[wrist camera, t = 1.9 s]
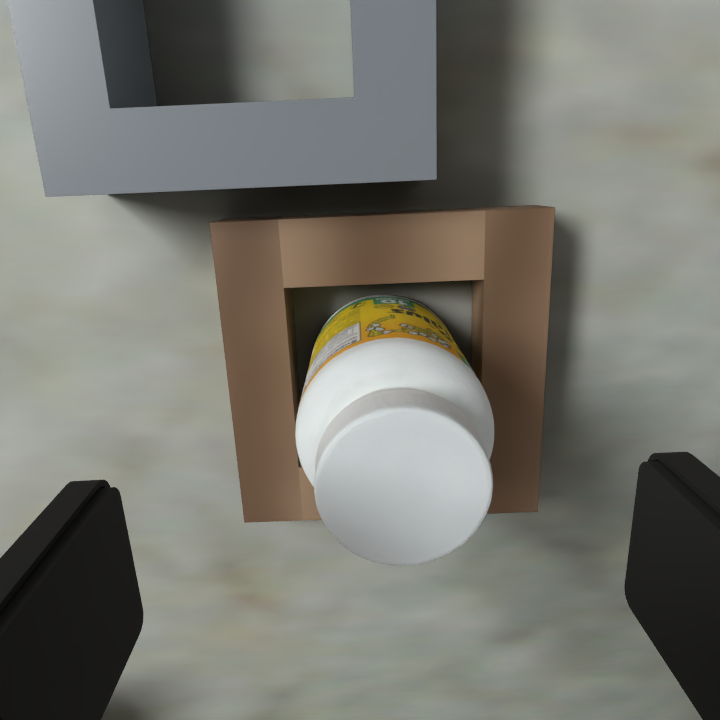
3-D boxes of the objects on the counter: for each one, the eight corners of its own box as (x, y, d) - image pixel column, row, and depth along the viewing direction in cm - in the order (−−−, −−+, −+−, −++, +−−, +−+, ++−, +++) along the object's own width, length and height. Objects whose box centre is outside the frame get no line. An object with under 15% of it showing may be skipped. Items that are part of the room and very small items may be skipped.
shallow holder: (536, 205, 20) (554, 207, 18) (523, 484, 23) (537, 511, 21) (223, 218, 20) (209, 222, 18) (254, 494, 23) (244, 522, 21)
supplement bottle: (284, 361, 22) (228, 491, 13) (384, 260, 21) (403, 321, 11) (384, 451, 23) (400, 631, 14) (484, 360, 22) (574, 489, 13)
